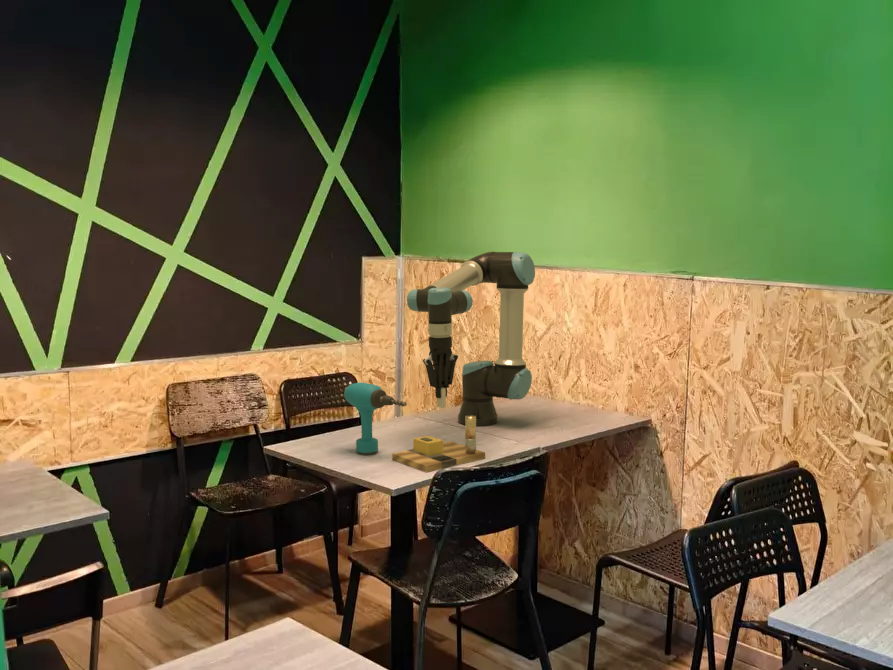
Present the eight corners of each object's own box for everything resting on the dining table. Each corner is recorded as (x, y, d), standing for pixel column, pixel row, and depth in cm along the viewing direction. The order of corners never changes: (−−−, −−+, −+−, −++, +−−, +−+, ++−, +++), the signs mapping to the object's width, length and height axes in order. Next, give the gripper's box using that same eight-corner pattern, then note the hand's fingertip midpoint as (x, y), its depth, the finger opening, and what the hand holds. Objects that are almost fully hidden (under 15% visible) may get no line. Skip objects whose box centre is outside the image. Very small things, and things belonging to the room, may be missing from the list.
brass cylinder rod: (463, 452, 274) (463, 416, 273) (471, 450, 276) (471, 414, 275) (470, 454, 272) (470, 418, 270) (478, 453, 274) (478, 416, 272)
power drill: (416, 460, 273) (415, 389, 270) (396, 466, 266) (396, 393, 263) (358, 445, 292) (356, 378, 288) (338, 450, 285) (337, 382, 282)
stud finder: (413, 450, 277) (413, 437, 276) (428, 447, 281) (428, 434, 280) (428, 455, 271) (428, 442, 270) (443, 452, 275) (443, 439, 274)
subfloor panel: (392, 459, 274) (392, 453, 274) (450, 446, 289) (450, 441, 288) (426, 472, 260) (426, 466, 260) (485, 458, 275) (485, 452, 275)
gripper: (431, 339, 267) (432, 412, 271) (463, 334, 275) (464, 405, 279) (417, 336, 273) (418, 408, 276) (448, 332, 281) (449, 402, 284)
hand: (441, 407), depth 278 cm, fingers closed
